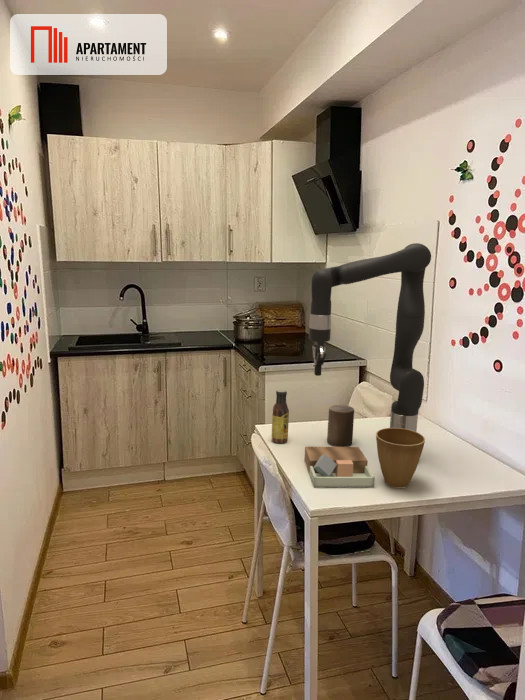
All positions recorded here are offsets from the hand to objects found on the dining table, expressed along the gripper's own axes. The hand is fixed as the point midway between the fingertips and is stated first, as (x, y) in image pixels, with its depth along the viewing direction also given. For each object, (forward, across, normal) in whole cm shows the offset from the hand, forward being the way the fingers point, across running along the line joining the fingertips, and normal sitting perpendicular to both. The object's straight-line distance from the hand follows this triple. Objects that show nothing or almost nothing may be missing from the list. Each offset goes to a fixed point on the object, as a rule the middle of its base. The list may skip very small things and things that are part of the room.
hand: (317, 375), depth 183 cm
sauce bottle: (+29, +9, +12) cm, 32 cm away
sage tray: (+28, -26, -4) cm, 38 cm away
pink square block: (+25, -22, -6) cm, 34 cm away
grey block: (+25, -23, +1) cm, 34 cm away
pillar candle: (+29, +8, -11) cm, 32 cm away
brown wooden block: (+28, -15, -4) cm, 32 cm away
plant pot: (+29, -27, -22) cm, 45 cm away
